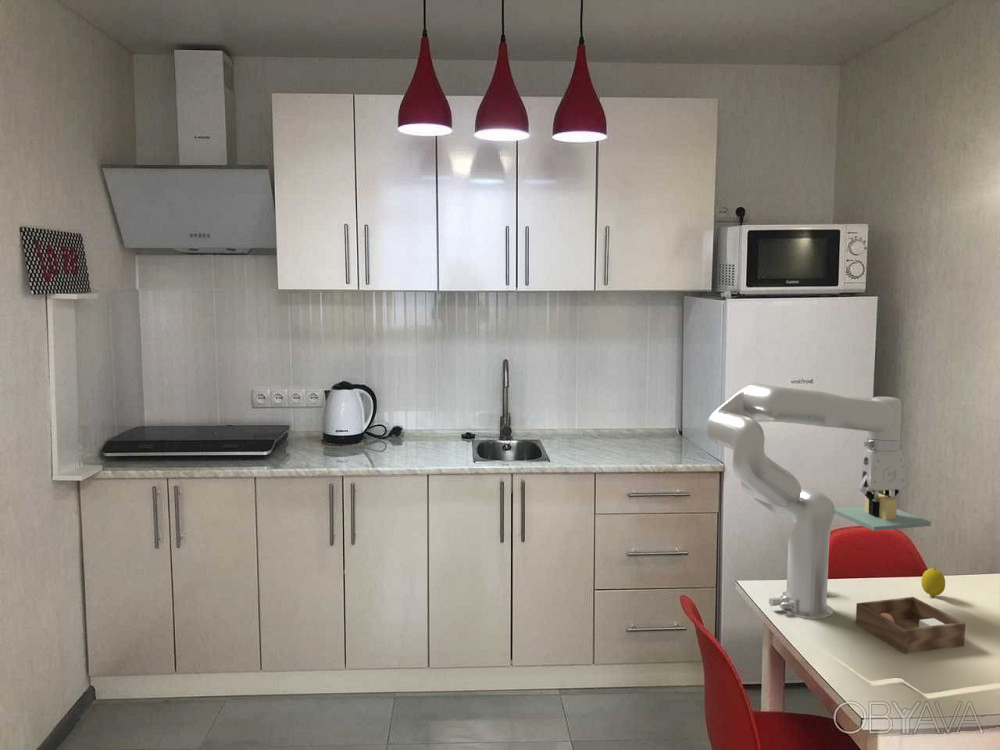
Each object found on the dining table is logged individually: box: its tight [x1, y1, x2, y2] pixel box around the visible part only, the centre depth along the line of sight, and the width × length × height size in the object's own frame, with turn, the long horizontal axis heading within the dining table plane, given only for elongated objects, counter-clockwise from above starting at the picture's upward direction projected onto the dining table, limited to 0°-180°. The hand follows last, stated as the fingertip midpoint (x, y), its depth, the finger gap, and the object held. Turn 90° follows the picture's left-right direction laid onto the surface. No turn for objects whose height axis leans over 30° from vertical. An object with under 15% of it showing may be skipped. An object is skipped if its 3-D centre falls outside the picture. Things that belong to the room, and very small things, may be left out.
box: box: [855, 596, 966, 655], centre depth 184 cm, size 16×16×6 cm
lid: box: [835, 493, 932, 532], centre depth 204 cm, size 16×16×6 cm
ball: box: [880, 613, 895, 623], centre depth 187 cm, size 4×4×4 cm
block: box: [919, 618, 944, 628], centre depth 182 cm, size 4×4×4 cm
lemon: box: [920, 567, 946, 598], centre depth 208 cm, size 6×6×8 cm
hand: (880, 514), depth 204 cm, fingers closed on lid, 3 cm apart
